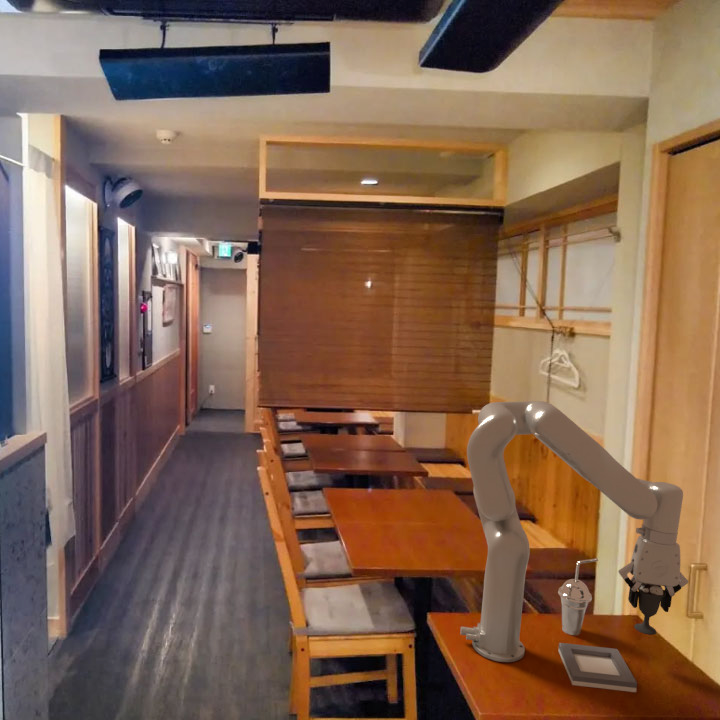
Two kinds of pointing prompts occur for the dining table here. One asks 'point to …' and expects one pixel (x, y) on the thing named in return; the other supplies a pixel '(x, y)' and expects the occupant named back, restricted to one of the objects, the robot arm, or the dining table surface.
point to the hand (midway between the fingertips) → (648, 606)
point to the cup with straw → (574, 602)
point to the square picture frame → (596, 667)
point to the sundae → (649, 605)
